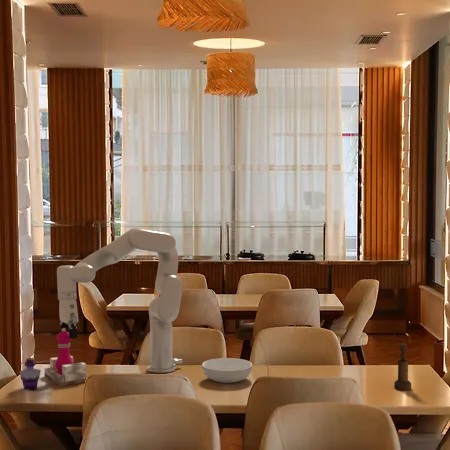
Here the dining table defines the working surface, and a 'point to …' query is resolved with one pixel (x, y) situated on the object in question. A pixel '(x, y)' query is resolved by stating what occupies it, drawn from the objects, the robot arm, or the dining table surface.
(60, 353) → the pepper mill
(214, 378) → the serving bowl
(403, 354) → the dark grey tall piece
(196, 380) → the dining table surface
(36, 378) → the potion bottle
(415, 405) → the dining table surface
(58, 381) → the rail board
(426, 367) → the dining table surface
